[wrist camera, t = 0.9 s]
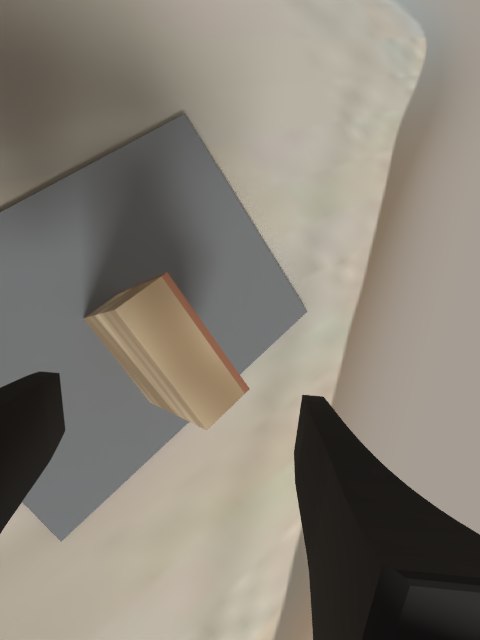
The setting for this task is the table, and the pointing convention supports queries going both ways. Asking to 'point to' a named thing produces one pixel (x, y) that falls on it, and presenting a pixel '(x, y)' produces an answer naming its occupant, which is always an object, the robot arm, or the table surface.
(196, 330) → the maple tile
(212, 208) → the rubber mat
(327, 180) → the table surface
